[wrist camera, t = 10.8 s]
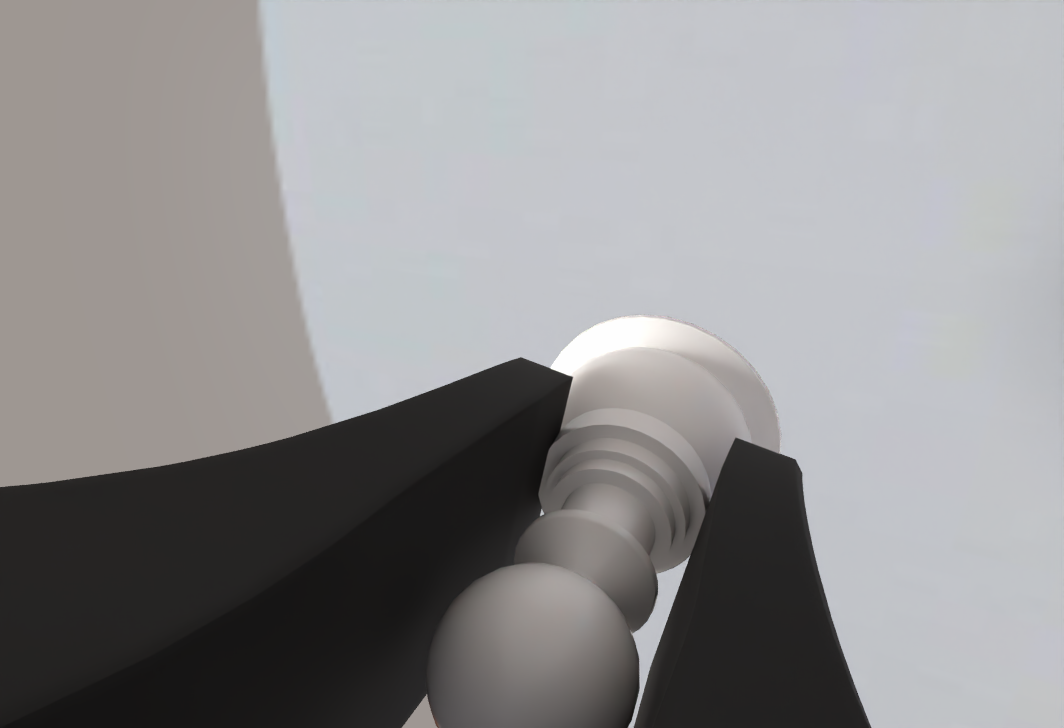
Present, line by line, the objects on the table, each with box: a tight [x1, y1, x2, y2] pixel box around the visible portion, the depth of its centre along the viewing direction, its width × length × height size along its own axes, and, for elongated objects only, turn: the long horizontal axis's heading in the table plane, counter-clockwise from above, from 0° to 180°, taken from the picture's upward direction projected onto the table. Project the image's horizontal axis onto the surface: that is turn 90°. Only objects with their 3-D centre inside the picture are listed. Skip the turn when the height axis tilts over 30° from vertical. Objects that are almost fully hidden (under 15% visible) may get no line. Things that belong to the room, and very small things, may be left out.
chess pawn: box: [426, 315, 781, 728], centre depth 9 cm, size 3×3×5 cm
